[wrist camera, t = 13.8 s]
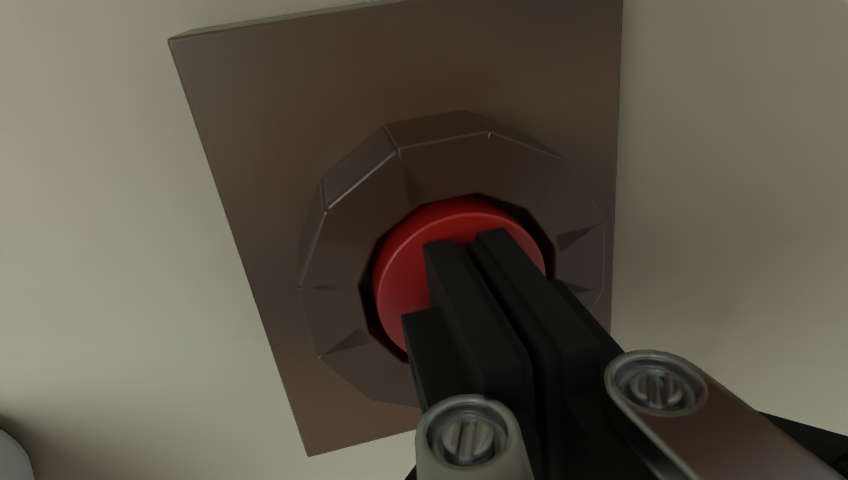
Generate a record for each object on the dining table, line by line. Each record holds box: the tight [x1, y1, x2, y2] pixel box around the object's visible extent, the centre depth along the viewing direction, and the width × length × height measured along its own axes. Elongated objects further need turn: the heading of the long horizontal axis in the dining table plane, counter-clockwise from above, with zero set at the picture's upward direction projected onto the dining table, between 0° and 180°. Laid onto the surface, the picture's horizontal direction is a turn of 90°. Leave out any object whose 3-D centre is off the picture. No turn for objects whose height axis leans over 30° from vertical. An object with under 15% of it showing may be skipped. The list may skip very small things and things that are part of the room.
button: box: [368, 193, 545, 352], centre depth 12 cm, size 4×4×2 cm
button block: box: [168, 0, 623, 457], centre depth 13 cm, size 11×9×4 cm
